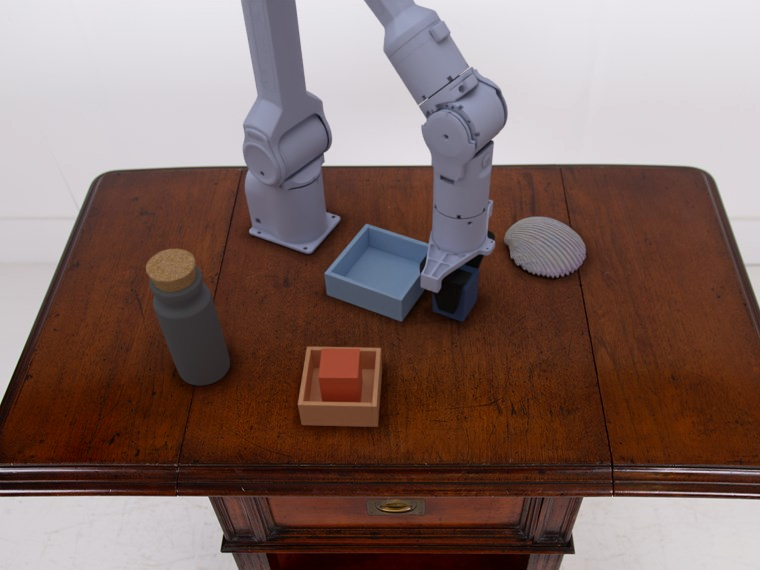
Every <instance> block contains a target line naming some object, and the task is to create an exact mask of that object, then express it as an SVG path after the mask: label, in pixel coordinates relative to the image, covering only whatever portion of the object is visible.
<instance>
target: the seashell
mask: <svg viewBox="0 0 760 570" xmlns="http://www.w3.org/2000/svg"><path fill="white" fill-rule="evenodd" d="M503 242H504V244H505V245H506V246H508V249H509V254H510V259H511V260H514V264H515V265H516V266H518V267H519V266H521V268H522V270H524V271H527V272H528V273H529V274H532V275H534V276H535V275H537V276H538V277H540V275H541V276H542V277H545V276H546V277H547V278H550V277H551V278H552V279H554V278H556V279H558V278H559V277H562V278H564V277H565V275H566V276H570V274H573V273H574V272H575V271H578V269H579V268H581V266H582V264H583V263H584V261H585V260H586V259H587V255H586V254H587V248H586V244H585V242H584V240H583V239H582V237H581V236H580V234H578V232H576V231H575V230H573V228H571V227H570V226H569V225H567V224H565V223H564V222H562V221H559V220H558V219H554V218H552V217H548V216H530V217H525V218H522V219H520V220H518V221H516V222H515V223H514V224H512V225H511V226H510V227H509V228H508V229H507V231H506V232H505V234H504V237H503Z"/></svg>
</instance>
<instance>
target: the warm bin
mask: <svg viewBox="0 0 760 570" xmlns="http://www.w3.org/2000/svg"><path fill="white" fill-rule="evenodd" d="M322 348H333V349H360V354H361V366H362V378H363V382H362V396H361V403H359V402H322V398H321V392H320V385H319V379H318V376H319V368H320V359H321V350H322ZM382 360H383V359H382V348H381V347H360V346H359V347H357V346H356V347H355V346H353V347H352V346H306V350H305V357H304V363H303V369H302V375H301V382H300V388H299V394H298V401H297V407H298V412H299V418H300V423H301V426H315V427H317V426H319V427H320V426H323V427H329V426H330V427H360V428H362V427H363V428H367V427H368V428H378V427H379V417H380V404H381V392H382V390H381V389H382V379H383V378H382V377H383V376H382V375H383V362H382Z"/></svg>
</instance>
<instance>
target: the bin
mask: <svg viewBox="0 0 760 570" xmlns="http://www.w3.org/2000/svg"><path fill="white" fill-rule="evenodd" d="M428 246H429V242H428V243H427V242H424V241H422V240H418V239H415V238H412V237H410V236H406V235H403V234H399V233H397V232H394V231H391V230H388V229H384V228H380V227H378V226H376V225H372V224H369V223H365V224H364V226H363V227H361V229H360V230H359V231H358V233H357V234H356V235H355V236H354V237H353V238H352V239H351V241H350V242H349V243H348V244H347V245H346V247H345V248H344V249H343V250H342V251H341V253H340V254H339V255H338V256H337V258H336V259H335V260H333V262H332V263H331V265H330V266H329V267H328V268H327V269H326V270H325V272H323V274H324V283H325V292H326V296H329V297H331V298H334V299H337V300H340V301H341V302H342V301H343V302H345V303H348V304H350V305H354V306H356V307H359V308H361V309H362V308H363V309H365V310H368V311H370V312H373V313H375V314H378V315H381V316H384V317H387V318H390V319H392V320H395V321H398V322H401V323H402V322H404V320H405V318H406V317H407V315H409V313H410V311H411V310H412V308H413V307H414V306H415V304H416V303H417V301H418V300H419V298H420V297H421V295H423V293H424V291H425V290H426V289H424V288H421V274H420V263H421V262H422V260H423V259H424V257H425V256H426V255H427V253H428Z"/></svg>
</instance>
